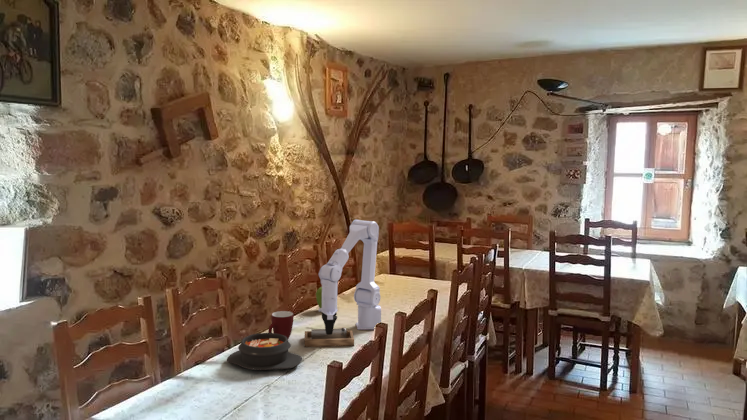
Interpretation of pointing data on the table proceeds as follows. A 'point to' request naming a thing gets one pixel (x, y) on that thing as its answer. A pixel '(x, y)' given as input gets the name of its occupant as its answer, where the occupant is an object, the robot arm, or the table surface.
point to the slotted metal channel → (322, 335)
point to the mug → (282, 323)
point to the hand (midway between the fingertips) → (329, 332)
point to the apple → (319, 297)
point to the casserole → (264, 353)
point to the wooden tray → (329, 341)
